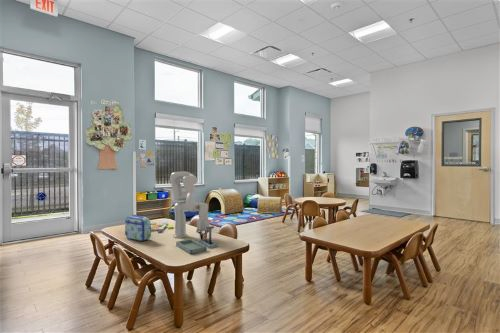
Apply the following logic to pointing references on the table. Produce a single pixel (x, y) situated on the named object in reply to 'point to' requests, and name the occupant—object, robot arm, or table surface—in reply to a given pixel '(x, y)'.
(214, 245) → the grey elongated block
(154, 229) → the pattern blocks set
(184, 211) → the robot arm
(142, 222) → the lunch box
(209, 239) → the stake
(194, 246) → the tray
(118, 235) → the table surface
